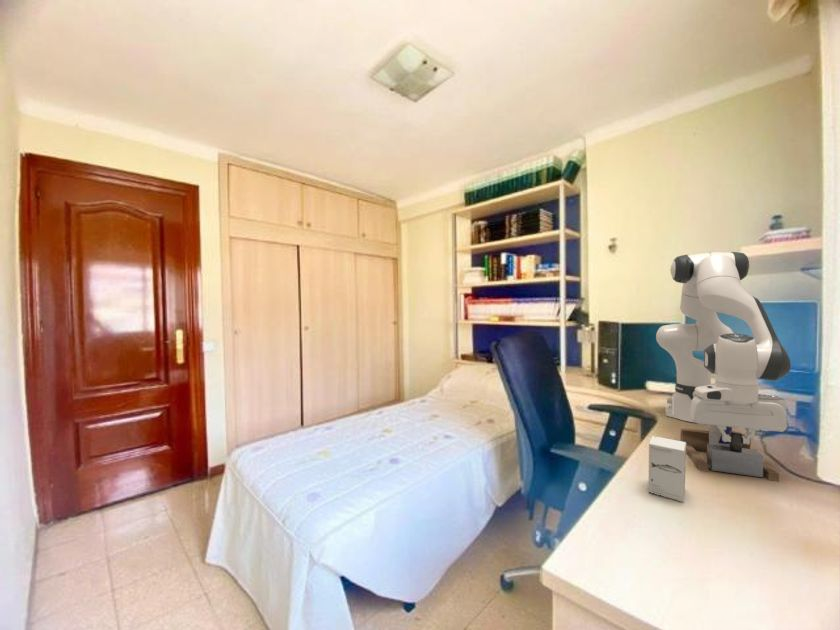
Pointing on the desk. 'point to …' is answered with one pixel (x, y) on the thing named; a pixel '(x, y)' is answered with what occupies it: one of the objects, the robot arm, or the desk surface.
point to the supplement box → (667, 467)
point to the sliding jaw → (735, 458)
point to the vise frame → (698, 443)
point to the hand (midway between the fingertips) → (735, 442)
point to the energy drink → (717, 435)
